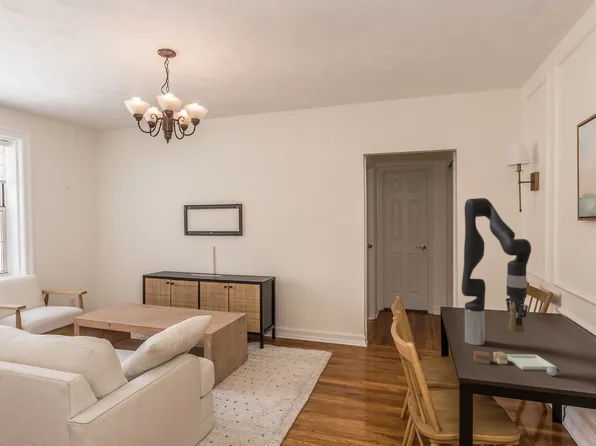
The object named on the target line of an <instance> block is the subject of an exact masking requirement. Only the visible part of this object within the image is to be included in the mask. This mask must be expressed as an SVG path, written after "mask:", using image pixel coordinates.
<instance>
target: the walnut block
mask: <svg viewBox="0 0 596 446" xmlns="http://www.w3.org/2000/svg"><path fill="white" fill-rule="evenodd" d="M490 360H491V359H490V353H489V352H487V351H476V350H474V351H473V362H474V363H477V364H485V365H490V364H491V363H490V362H491V361H490Z"/></svg>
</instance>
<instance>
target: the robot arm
mask: <svg viewBox="0 0 596 446" xmlns="http://www.w3.org/2000/svg"><path fill="white" fill-rule="evenodd" d="M482 217H485V218H486V219H488V220H489V229H490V232H491V233H492V235H493V236H494V237H495V238H496V239H497V240H498V241H499V244H500V247H501V248H502V251H503V252H504V253H505V254H506V255H508V256H515V258H514V259H513V260H510V261H508V262H507V272H506V273H507V276H506V296H507V298H505V302H506V308H507V309H506V310H507V312H508V313H509V315H510V314H511V311H510V309H509V307H510V305H512V304H513V306H514V308H515V312H516V324H518V326H522V318H526V317H527V312H528V309H529V305H528V304H525V301H524V299H525V298H526V297H527V296H528V279H527V265H528V263H529V259H530V256H531V253H532V246H531V243H530V241H529V240H528V239H525V238H515V237H516V234H515V233H516V232H514V230H513V229H512V228H511V227H510V226H509V225H508V224H506V222H505V221H504V220H503V218H501V216H500V214H499V213H498V211H497V210H496V208H495V207H494V205H493V204H492V203H491V201H490V200H489V199H487V198H485V197H478V198H468V199H467V200H466V201H465V203H464V227H465V229H464V245H463V247H464V248H463V269H462V270H463V271H462V278H461V279H462V281H461V293H462V295H463V296H464V297H475V298H474V299H473V300H471V301H468V302H465V303H464V343H466V344H469V345H473V346H483V345H485V304H486V302H485V301H486V283H485V280H484V279H483V278H471V276H472V274H473V271H474V270H475V269H476V267H477V266H478V265H479V264H480V263H481V261H482V259H483V257H484V256H485V240H484V238H483V237H482V235H481V233H480V232H479V230H478V227H477V222H476V221H477V220H476V219H477V218H482ZM517 308H518V309H520V310H517ZM518 312H519V314H518Z"/></svg>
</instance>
